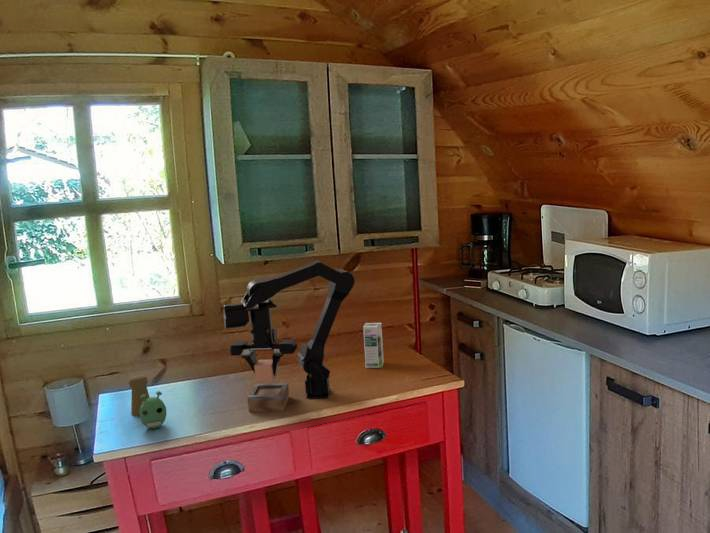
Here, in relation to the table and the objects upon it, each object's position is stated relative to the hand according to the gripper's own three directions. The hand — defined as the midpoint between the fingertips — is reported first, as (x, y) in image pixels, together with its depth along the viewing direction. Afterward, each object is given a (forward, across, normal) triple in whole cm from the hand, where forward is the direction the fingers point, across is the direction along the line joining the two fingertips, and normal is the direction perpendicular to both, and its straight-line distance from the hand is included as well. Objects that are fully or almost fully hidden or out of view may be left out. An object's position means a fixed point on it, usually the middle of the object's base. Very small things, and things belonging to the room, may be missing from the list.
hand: (266, 375), depth 175 cm
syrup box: (+9, -29, -31) cm, 44 cm away
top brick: (+1, 0, 0) cm, 1 cm away
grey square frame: (+9, 0, 0) cm, 9 cm away
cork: (+9, +37, +4) cm, 38 cm away
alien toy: (+9, +28, +16) cm, 33 cm away
